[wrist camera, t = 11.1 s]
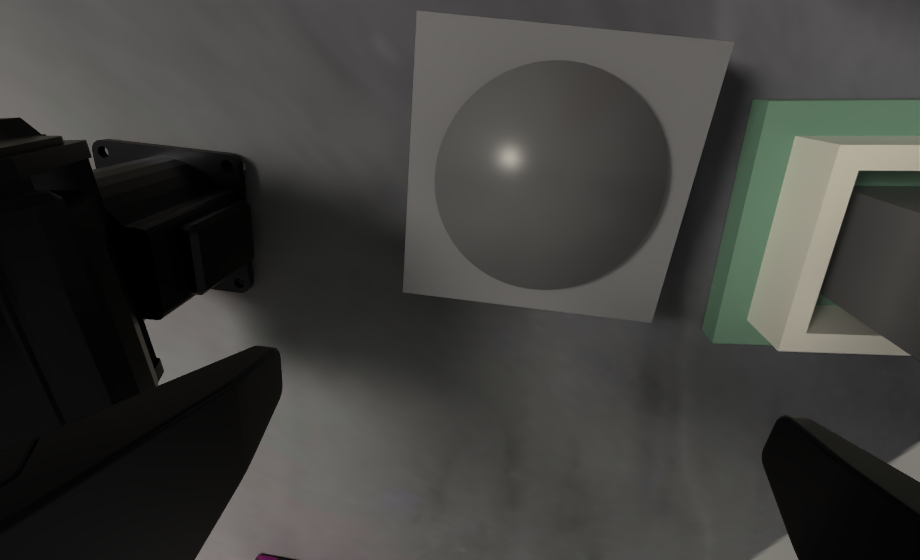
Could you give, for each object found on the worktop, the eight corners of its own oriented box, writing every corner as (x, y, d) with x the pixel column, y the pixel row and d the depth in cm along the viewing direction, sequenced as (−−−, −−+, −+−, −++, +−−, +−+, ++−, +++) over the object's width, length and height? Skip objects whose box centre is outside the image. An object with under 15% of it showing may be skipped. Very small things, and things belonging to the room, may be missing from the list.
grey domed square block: (415, 265, 22) (400, 296, 19) (430, 20, 18) (414, 9, 15) (632, 291, 21) (654, 328, 18) (697, 47, 17) (740, 41, 14)
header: (701, 329, 22) (737, 376, 18) (752, 99, 18) (810, 104, 14) (933, 337, 21) (1016, 387, 18) (1041, 97, 17) (1174, 102, 14)
